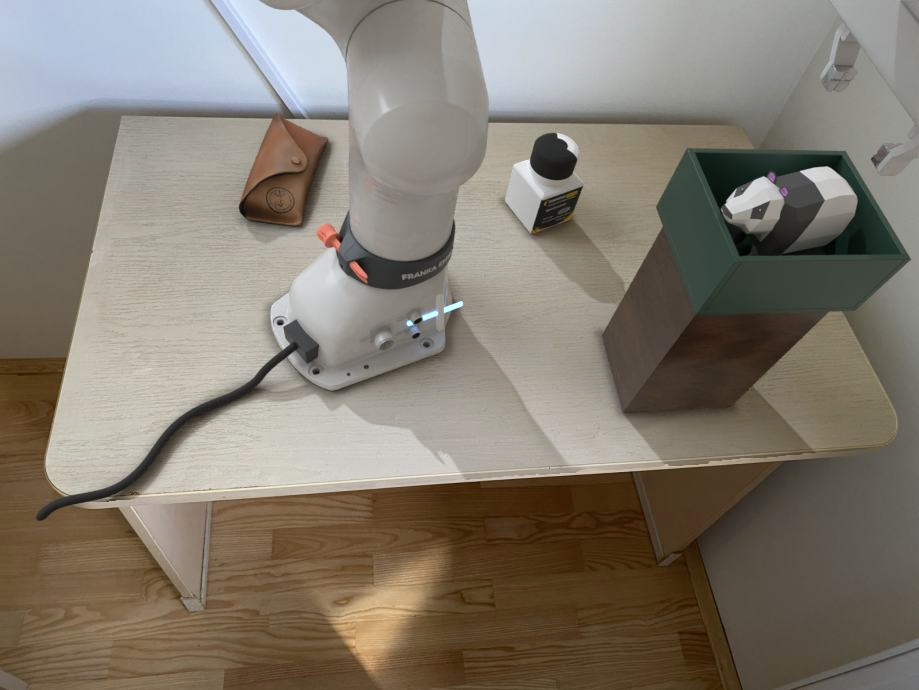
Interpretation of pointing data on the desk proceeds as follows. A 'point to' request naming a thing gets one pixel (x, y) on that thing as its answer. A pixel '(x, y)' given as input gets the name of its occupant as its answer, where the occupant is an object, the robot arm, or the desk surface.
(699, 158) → the bin
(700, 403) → the stand
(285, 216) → the sunglasses case
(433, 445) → the desk surface
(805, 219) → the giant panda
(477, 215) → the desk surface
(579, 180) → the medicine bottle
